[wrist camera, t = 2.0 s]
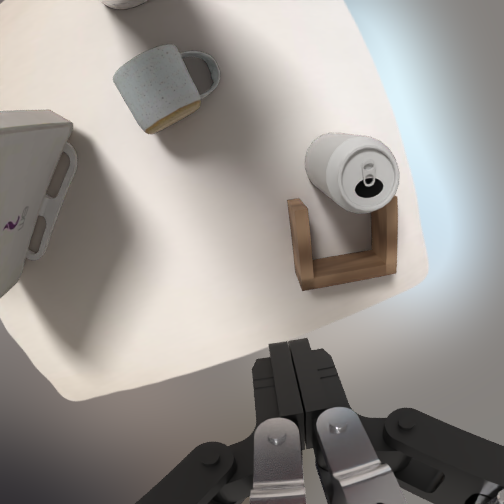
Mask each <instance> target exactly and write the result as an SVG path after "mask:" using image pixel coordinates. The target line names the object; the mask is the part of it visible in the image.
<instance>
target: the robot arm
mask: <svg viewBox="0 0 504 504" xmlns="http://www.w3.org/2000/svg"><path fill="white" fill-rule="evenodd" d="M100 1H101V2H102V3H104V4H105V5H106V6H108V7H111V8H114V9H128V8H132V7H135V6H138V5H140V4H142V3H144V2H146V1H148V0H100ZM288 344H289V346H288ZM269 351H270V357H269V358H262V359H257V360H256V362H255V364H254V366H253V368H252V374H253V386H254V397H255V410H256V427H255V429H254V431H253V433H252V434H251V435H250V436H249V437H248V438H246V439H245V440H243V441H241V442H238V443H235V444H233V445H230V446H226V445H225V444H222V443H219V442H207V443H203V444H201V445H199V446H197V447H196V448H195V449H194V450H193V451H192V452H191V453H190V454H188V455H187V457H185V458H184V459H183V460H182V461H181V462H180V463H179V464H178V465H177V466H176V467H175V468H174V469H173V470H172V471H171V472H170V473H169V474H168V475H166V476H165V477H164V478H163V479H162V480H161V481H160V482H159V483H158V484H157V485H156V486H155V487H153V488H152V489H151V490H150V491H149V492H148V493H147V494H146V495H144V496H143V497H142V498H141V499H140V500H139V501H138V502H136V503H135V504H241V503H242V502H243V501H244V499H245V498H246V497H249V496H250V504H306V495H305V486H304V479H303V468H302V465H303V463H302V450H304V449H305V444H306V449H310V448H313V449H314V454H315V466H316V469H317V472H318V475H319V479H320V481H321V485H322V488H323V491H324V494H325V497H326V500H327V504H408V503H407V501H406V499H405V497H404V494H403V492H402V490H401V488H403V489H405V490H407V491H409V492H411V493H413V494H415V495H417V496H419V497H421V498H423V499H426V500H428V501H430V502H432V503H434V504H504V446H502V445H499V444H496V443H494V442H491V441H488V440H486V439H484V438H481V437H479V436H476V435H473V434H471V433H469V432H466V431H464V430H461V429H459V428H457V427H454V426H452V425H449V424H447V423H445V422H443V421H440V420H438V419H435V418H433V417H431V416H429V415H427V414H424V413H422V412H420V411H418V410H415V409H412V408H401V409H397V410H395V411H393V412H392V413H391V414H390V415H389V416H388V417H387V418H368V417H363V416H361V415H359V414H357V413H355V412H354V411H353V410H352V409H351V407H350V405H349V403H348V400H347V398H346V395H345V392H344V389H343V387H342V384H341V381H340V379H339V376H338V373H337V370H336V368H335V365H334V362H333V360H332V357H331V356H330V355H329V354H328V353H327V352H326V351H325V350H324V349H317V350H311V348H310V345H309V342H308V339H307V338H304V339H298V340H292V341H288V343H287V341H286V342H280V343H273V344H269ZM400 487H401V488H400Z"/></svg>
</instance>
